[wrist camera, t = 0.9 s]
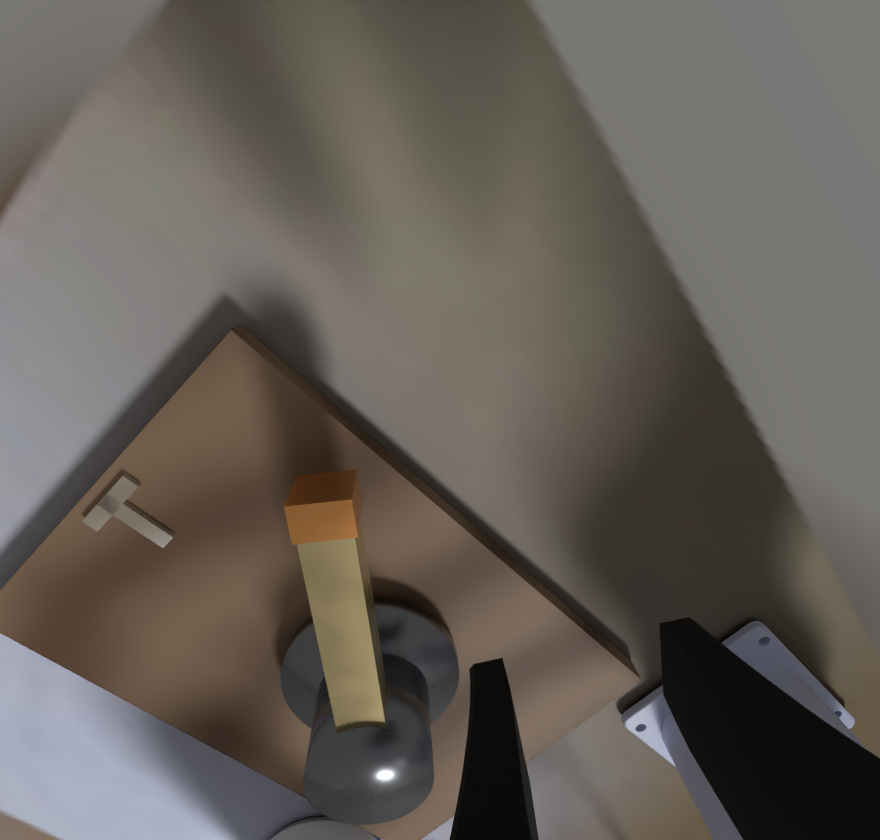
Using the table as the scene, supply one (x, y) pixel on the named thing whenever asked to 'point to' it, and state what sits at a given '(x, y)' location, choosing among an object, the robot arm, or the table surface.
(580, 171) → the table surface
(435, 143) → the table surface
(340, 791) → the lever door handle
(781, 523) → the table surface
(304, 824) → the can
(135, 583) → the stand
